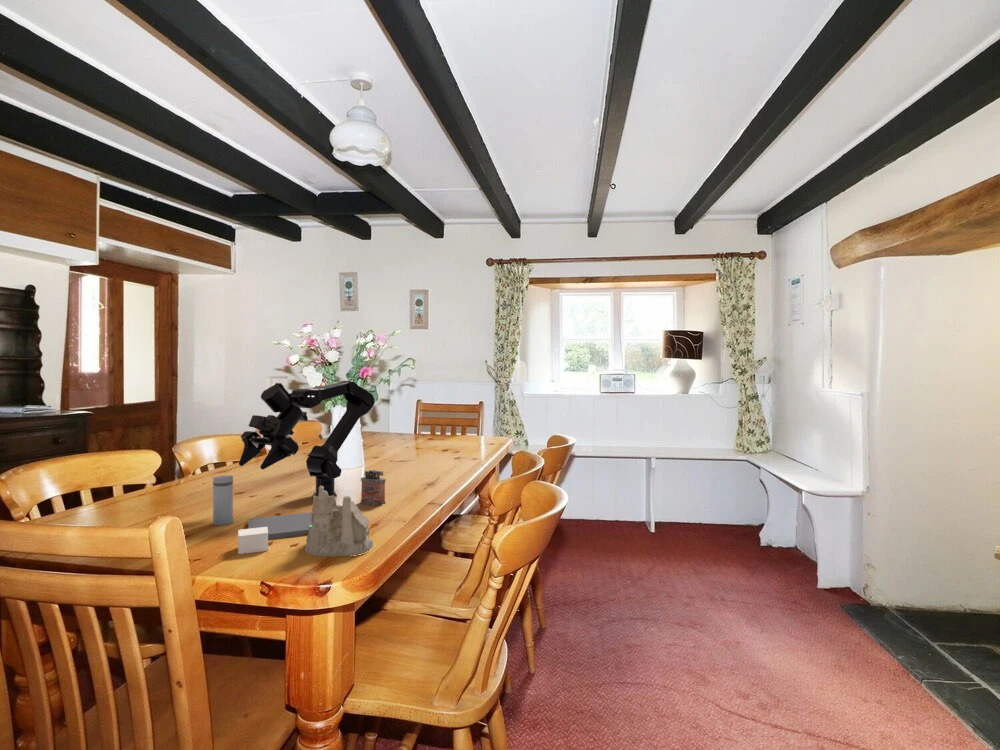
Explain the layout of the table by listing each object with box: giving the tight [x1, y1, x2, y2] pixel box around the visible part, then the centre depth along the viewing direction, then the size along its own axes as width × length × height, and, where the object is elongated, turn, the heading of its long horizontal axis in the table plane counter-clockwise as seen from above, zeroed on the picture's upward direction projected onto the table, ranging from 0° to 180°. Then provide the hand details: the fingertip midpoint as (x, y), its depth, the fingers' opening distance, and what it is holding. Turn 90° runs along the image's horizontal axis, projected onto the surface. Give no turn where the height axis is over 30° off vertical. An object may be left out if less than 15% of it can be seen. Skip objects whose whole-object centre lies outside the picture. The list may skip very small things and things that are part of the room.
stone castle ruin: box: [304, 486, 374, 557], centre depth 124 cm, size 16×16×15 cm
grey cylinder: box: [212, 474, 234, 526], centre depth 140 cm, size 5×5×12 cm
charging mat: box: [237, 511, 312, 555], centre depth 132 cm, size 24×18×4 cm
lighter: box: [360, 469, 387, 506], centre depth 161 cm, size 8×3×10 cm, turn 70°
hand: (250, 466), depth 146 cm, fingers open, 9 cm apart
